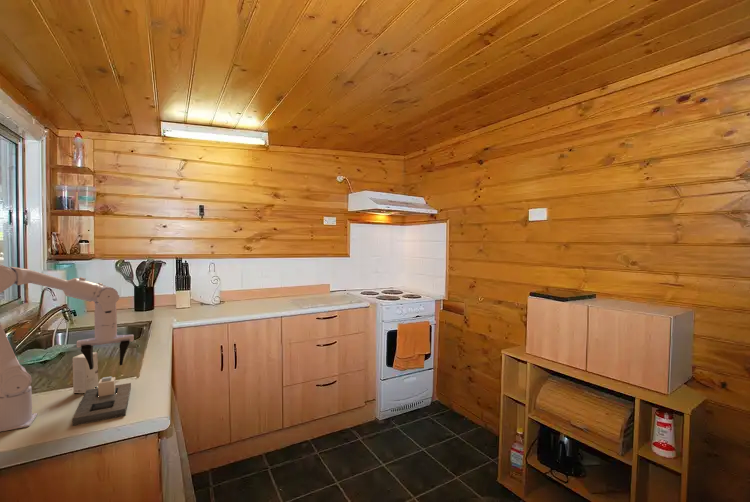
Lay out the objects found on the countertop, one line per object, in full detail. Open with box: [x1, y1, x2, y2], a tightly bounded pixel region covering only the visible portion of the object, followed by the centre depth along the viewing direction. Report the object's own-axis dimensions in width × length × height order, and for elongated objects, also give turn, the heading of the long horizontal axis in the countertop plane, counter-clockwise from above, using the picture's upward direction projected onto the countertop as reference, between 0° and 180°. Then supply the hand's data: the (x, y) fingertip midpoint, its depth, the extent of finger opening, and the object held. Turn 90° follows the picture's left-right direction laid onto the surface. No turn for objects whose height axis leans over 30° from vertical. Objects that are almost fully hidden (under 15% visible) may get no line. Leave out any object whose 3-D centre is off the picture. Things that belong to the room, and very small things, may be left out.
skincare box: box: [72, 351, 99, 394], centre depth 124 cm, size 6×4×12 cm
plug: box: [97, 375, 116, 397], centre depth 118 cm, size 4×4×7 cm
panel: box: [72, 382, 132, 427], centre depth 113 cm, size 12×22×2 cm, turn 30°
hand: (106, 366), depth 118 cm, fingers open, 7 cm apart
